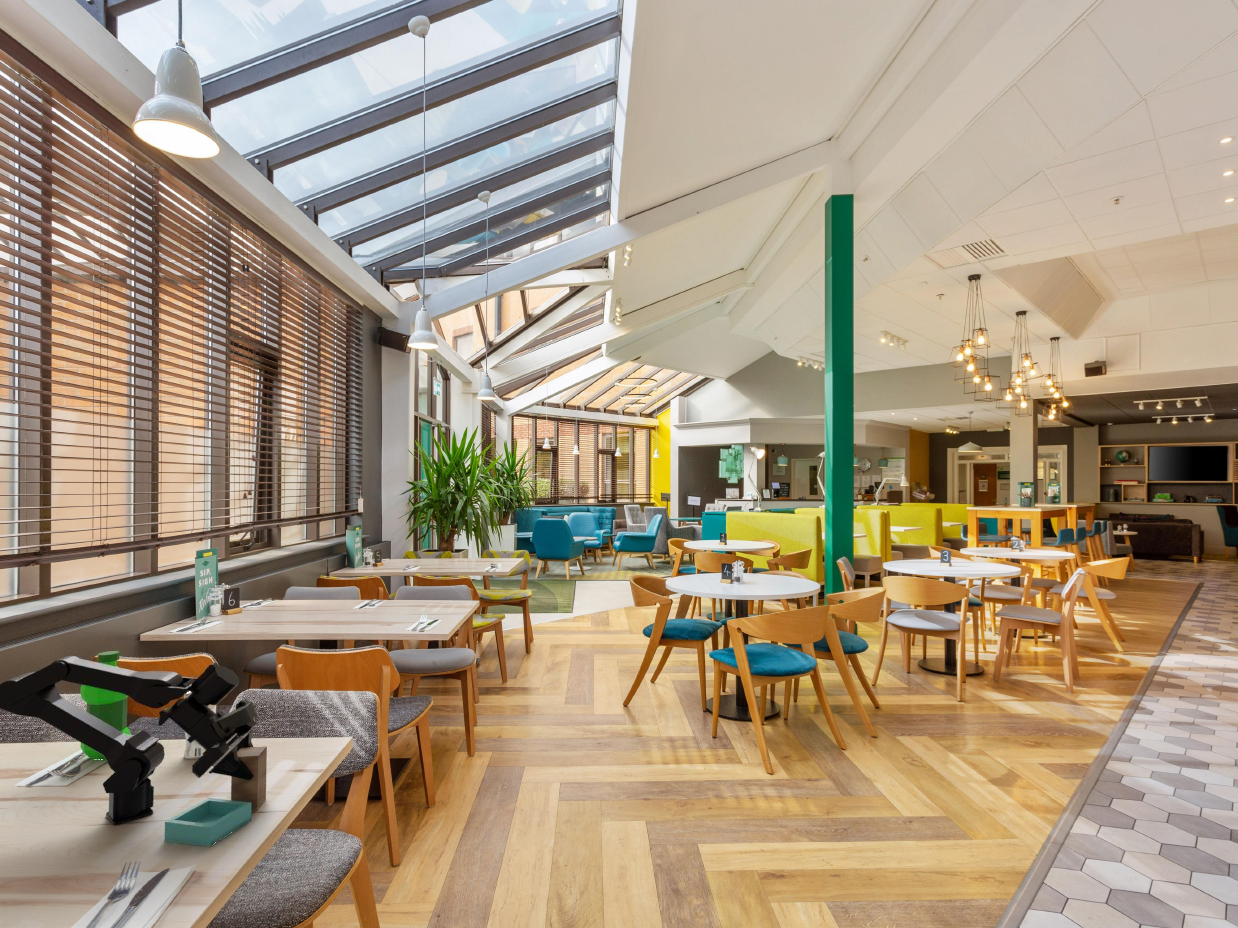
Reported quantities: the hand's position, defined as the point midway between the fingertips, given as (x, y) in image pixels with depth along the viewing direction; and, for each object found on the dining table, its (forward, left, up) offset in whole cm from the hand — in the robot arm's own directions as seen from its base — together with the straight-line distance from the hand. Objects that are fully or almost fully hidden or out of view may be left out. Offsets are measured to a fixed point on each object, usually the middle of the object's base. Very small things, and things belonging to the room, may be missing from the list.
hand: (256, 772), depth 140 cm
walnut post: (-1, +1, -7) cm, 7 cm away
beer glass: (+2, +39, -7) cm, 40 cm away
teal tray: (-10, -4, -7) cm, 13 cm away
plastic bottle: (-13, +55, -7) cm, 57 cm away
